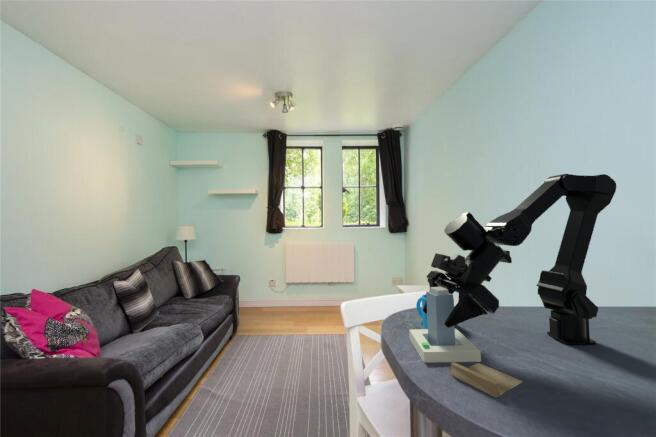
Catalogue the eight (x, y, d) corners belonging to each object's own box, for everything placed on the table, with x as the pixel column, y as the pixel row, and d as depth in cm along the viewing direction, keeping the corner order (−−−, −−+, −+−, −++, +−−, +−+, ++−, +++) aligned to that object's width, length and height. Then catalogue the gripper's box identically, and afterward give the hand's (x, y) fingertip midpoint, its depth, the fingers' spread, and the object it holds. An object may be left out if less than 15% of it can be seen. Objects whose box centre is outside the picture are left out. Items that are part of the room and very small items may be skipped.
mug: (462, 329, 75) (460, 298, 75) (439, 335, 72) (437, 303, 72) (428, 316, 86) (427, 289, 86) (406, 321, 83) (405, 293, 83)
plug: (445, 348, 64) (442, 285, 65) (455, 356, 60) (452, 289, 61) (428, 350, 64) (425, 287, 64) (438, 358, 60) (435, 291, 60)
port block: (456, 341, 68) (456, 326, 68) (481, 366, 56) (480, 348, 56) (409, 342, 68) (409, 327, 68) (424, 367, 56) (423, 349, 56)
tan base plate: (478, 367, 55) (477, 352, 56) (523, 387, 49) (522, 369, 49) (451, 380, 51) (450, 363, 51) (496, 403, 45) (495, 384, 45)
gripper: (432, 238, 72) (392, 285, 71) (482, 242, 54) (430, 306, 52) (462, 267, 73) (423, 314, 72) (521, 282, 55) (471, 345, 53)
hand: (434, 318), depth 62 cm, fingers open, 9 cm apart
